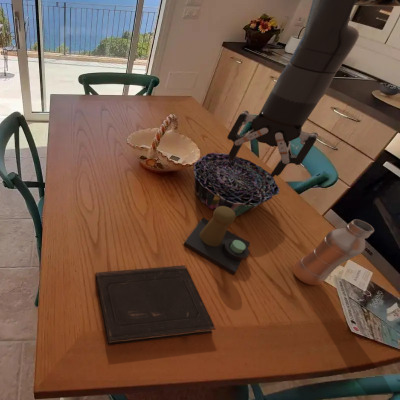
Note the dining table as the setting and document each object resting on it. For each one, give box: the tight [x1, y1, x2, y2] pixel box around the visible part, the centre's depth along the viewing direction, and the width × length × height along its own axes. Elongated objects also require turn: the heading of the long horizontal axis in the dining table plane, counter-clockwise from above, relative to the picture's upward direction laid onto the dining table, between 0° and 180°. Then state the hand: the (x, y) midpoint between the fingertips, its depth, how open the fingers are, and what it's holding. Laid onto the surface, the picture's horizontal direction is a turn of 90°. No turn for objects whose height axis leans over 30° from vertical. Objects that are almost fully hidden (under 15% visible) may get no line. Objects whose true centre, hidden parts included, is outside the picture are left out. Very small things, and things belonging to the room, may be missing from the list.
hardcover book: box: [94, 265, 217, 346], centre depth 61 cm, size 16×23×2 cm
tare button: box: [230, 240, 246, 253], centre depth 71 cm, size 3×3×2 cm
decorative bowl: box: [193, 152, 281, 217], centre depth 89 cm, size 26×28×10 cm
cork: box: [199, 206, 237, 246], centre depth 72 cm, size 6×6×11 cm
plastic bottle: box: [292, 218, 375, 286], centre depth 63 cm, size 6×7×20 cm
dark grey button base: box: [182, 217, 251, 276], centre depth 75 cm, size 15×13×3 cm
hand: (251, 166), depth 59 cm, fingers open, 8 cm apart
